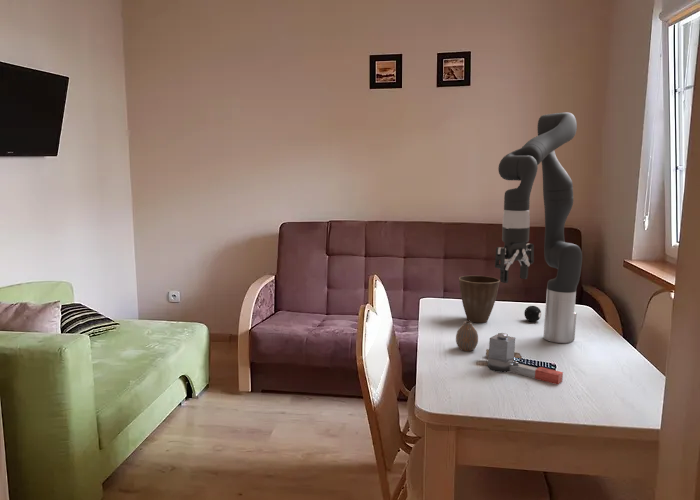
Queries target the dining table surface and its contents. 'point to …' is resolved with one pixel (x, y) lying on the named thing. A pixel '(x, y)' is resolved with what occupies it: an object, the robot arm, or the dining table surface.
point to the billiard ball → (532, 313)
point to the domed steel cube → (501, 347)
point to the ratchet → (526, 370)
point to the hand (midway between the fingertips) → (514, 280)
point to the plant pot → (478, 296)
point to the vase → (467, 337)
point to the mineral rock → (516, 355)
